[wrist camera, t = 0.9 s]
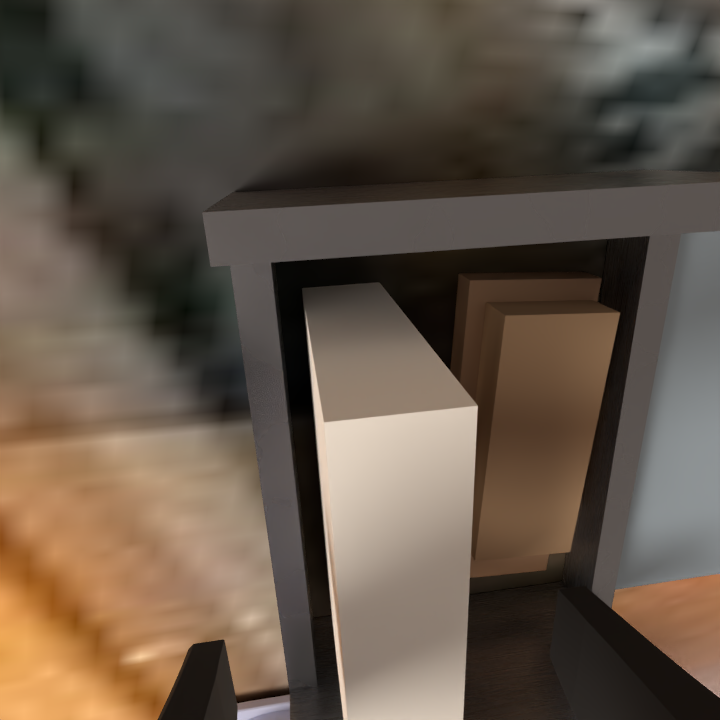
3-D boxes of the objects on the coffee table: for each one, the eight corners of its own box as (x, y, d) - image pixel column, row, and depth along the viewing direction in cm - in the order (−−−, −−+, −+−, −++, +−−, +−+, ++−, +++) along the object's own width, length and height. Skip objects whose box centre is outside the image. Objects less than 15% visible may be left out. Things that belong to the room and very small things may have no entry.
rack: (580, 595, 23) (675, 733, 17) (291, 639, 22) (293, 804, 16) (646, 169, 16) (832, 175, 11) (232, 192, 15) (202, 212, 9)
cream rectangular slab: (387, 568, 21) (457, 834, 13) (327, 577, 21) (358, 855, 12) (378, 281, 17) (477, 405, 8) (301, 288, 16) (324, 422, 8)
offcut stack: (529, 544, 22) (564, 599, 19) (430, 553, 22) (453, 611, 19) (576, 269, 18) (631, 289, 15) (454, 270, 17) (488, 292, 14)
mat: (744, 562, 24) (751, 568, 23) (603, 583, 23) (608, 590, 23) (862, 173, 17) (874, 173, 17) (672, 184, 17) (681, 184, 16)
